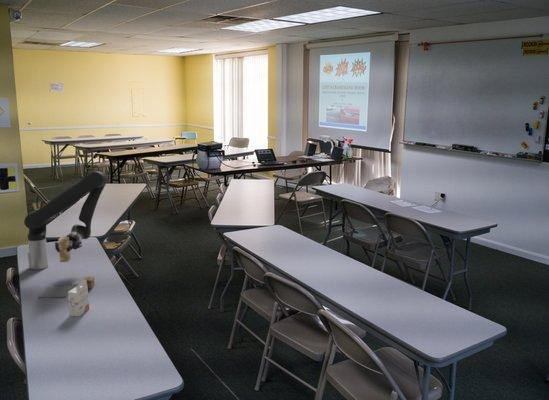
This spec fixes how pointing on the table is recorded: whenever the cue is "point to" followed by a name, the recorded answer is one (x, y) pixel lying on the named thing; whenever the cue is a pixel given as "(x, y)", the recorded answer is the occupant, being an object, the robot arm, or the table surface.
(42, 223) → the robot arm
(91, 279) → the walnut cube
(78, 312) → the ink cartridge box
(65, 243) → the maple block
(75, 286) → the grey block
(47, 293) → the slate mat
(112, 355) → the table surface
